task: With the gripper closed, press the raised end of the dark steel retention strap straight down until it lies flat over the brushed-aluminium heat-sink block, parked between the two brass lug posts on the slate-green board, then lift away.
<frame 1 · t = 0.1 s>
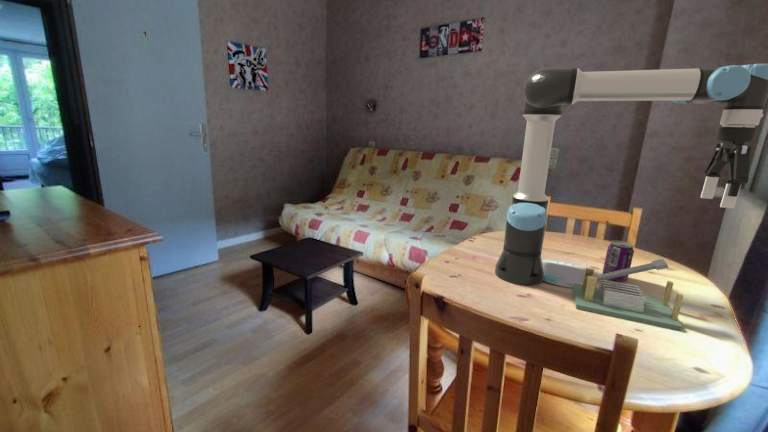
hand: (716, 202, 98), 28 cm above the table, fingers open, 13 cm apart
beverage can: (614, 278, 114), on the table
strap: (624, 272, 94), point 10 cm above the table, hinge at 28.0°
socket board: (620, 305, 96), on the table
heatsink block: (620, 295, 95), on the socket board, point 3 cm above the table
lug posts: (627, 291, 94), on the socket board, point 5 cm above the table
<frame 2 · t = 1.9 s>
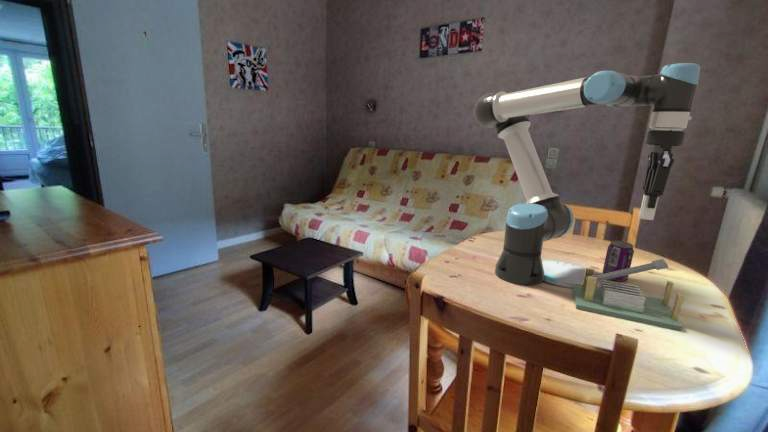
hand: (645, 218, 94), 24 cm above the table, fingers closed
nothing on the table moved.
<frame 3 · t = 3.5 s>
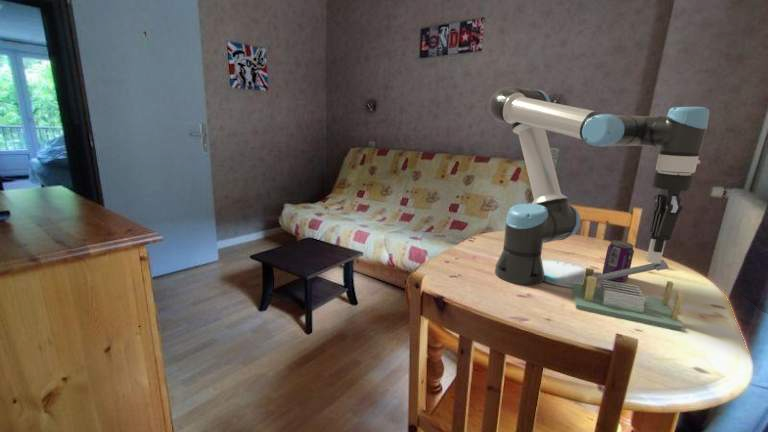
hand: (653, 261, 90), 14 cm above the table, fingers closed
strap: (624, 272, 94), point 10 cm above the table, hinge at 27.3°, touching gripper
everything else where it was.
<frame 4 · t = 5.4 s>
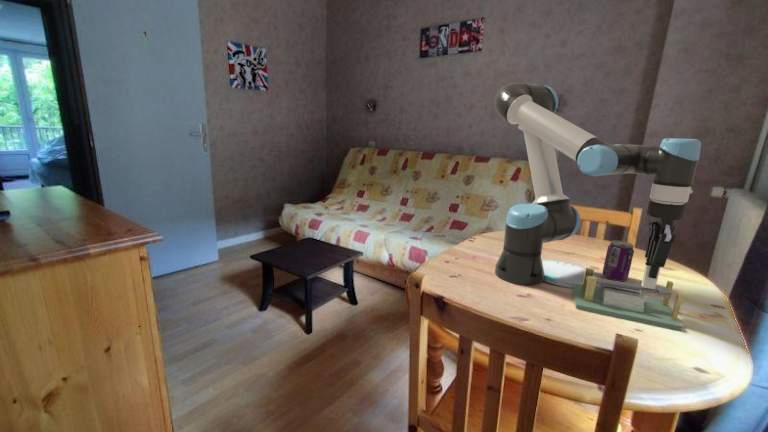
hand: (648, 287, 92), 7 cm above the table, fingers closed
strap: (625, 285, 94), point 6 cm above the table, hinge at 2.2°, touching gripper
everything else where it was.
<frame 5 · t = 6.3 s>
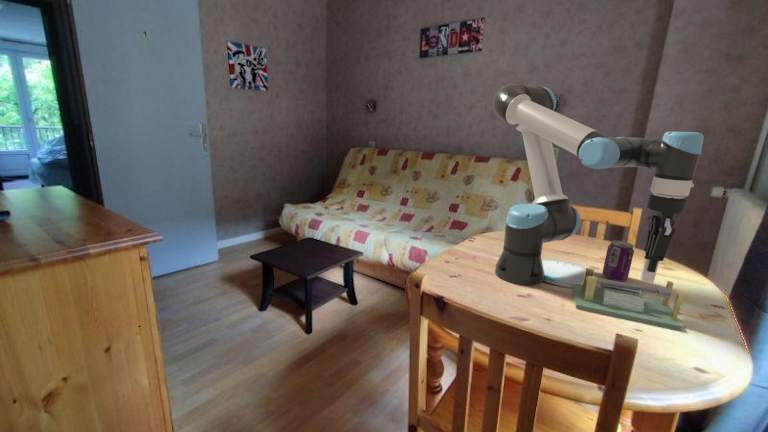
hand: (646, 280, 92), 9 cm above the table, fingers closed
strap: (625, 285, 94), point 6 cm above the table, hinge at 2.2°
everything else where it was.
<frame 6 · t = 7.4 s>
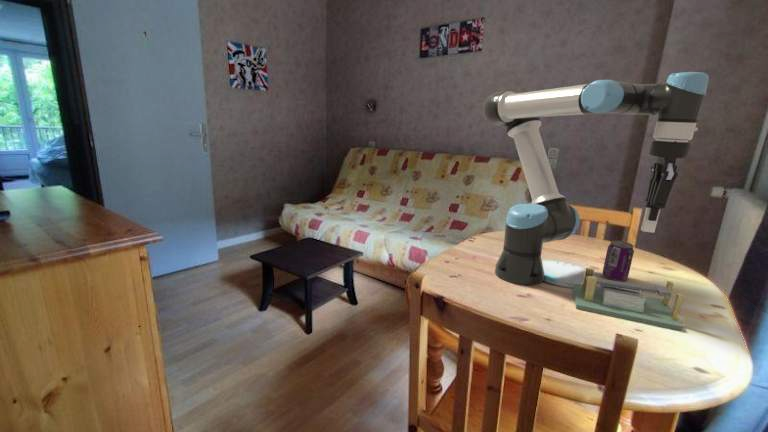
hand: (647, 231, 91), 22 cm above the table, fingers closed
nothing on the table moved.
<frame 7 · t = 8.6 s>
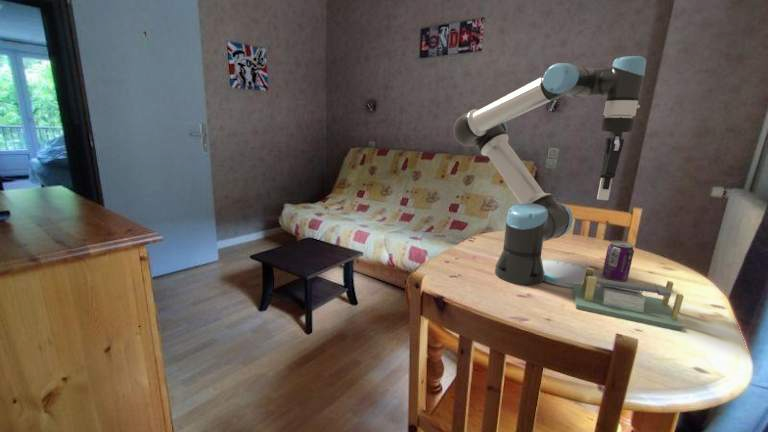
hand: (602, 199, 102), 27 cm above the table, fingers closed
nothing on the table moved.
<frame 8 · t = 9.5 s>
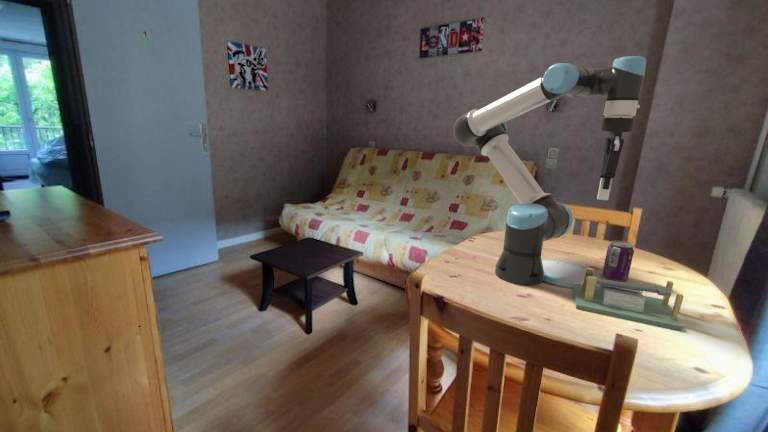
hand: (602, 199, 102), 27 cm above the table, fingers closed
nothing on the table moved.
at the end: strap at +2° (first picture: +28°); strap touching nothing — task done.
